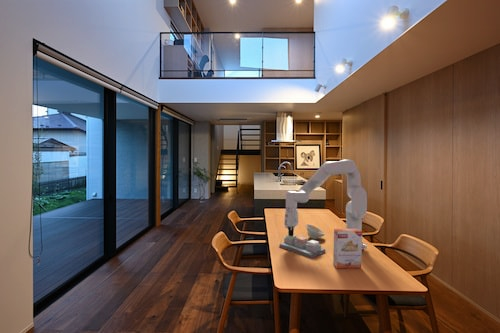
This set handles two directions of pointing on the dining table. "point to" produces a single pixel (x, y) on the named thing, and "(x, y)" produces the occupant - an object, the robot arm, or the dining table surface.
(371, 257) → the dining table surface
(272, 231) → the dining table surface
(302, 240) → the terracotta button
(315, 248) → the button board
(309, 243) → the cream button
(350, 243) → the cracker box
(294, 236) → the green button
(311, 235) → the bowl
